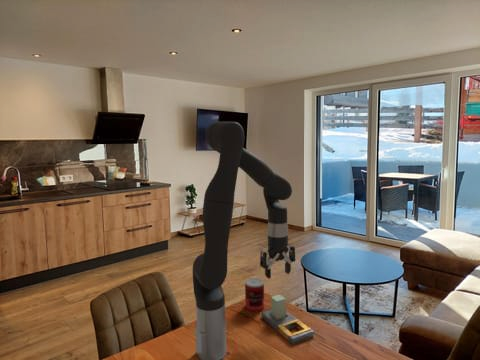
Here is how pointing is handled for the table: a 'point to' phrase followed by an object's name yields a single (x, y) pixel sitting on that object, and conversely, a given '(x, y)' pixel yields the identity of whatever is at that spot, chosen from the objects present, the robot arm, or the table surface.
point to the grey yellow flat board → (289, 327)
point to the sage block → (278, 307)
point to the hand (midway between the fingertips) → (278, 275)
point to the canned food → (254, 294)
